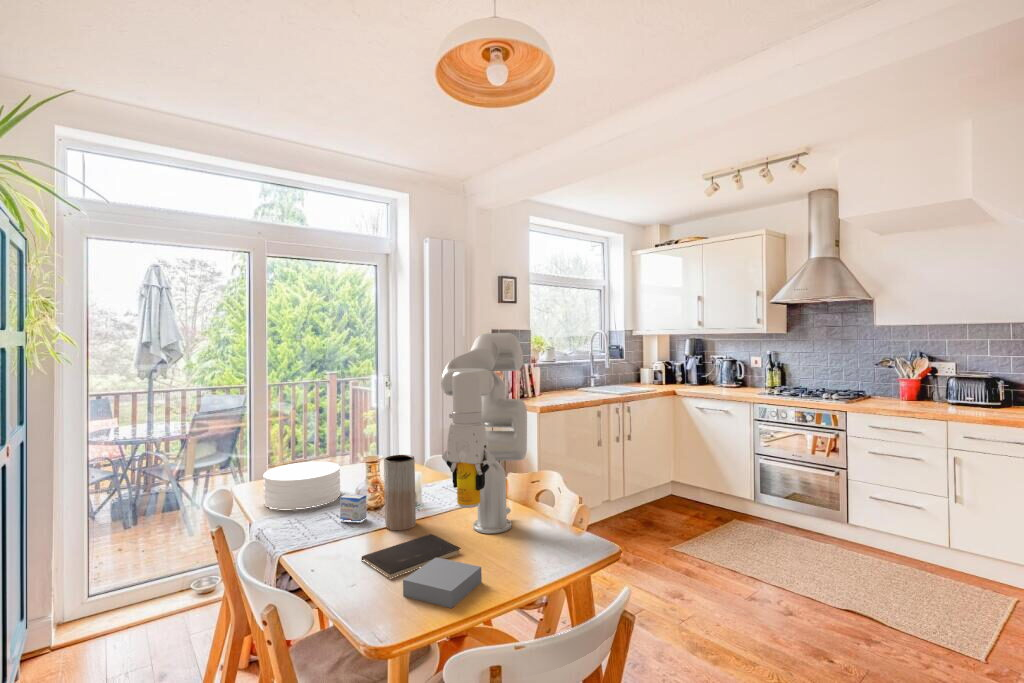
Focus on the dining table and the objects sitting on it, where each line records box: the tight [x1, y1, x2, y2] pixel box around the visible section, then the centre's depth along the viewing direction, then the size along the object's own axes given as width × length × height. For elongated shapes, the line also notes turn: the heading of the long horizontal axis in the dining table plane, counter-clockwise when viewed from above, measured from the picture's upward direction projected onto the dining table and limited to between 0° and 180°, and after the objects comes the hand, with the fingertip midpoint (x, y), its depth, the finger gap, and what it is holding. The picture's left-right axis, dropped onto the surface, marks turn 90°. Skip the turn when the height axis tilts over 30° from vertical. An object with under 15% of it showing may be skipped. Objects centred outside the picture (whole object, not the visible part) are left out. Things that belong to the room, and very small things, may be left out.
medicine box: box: [339, 493, 368, 521], centre depth 181 cm, size 8×4×9 cm, turn 76°
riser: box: [402, 557, 483, 609], centre depth 131 cm, size 14×14×4 cm
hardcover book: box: [361, 533, 462, 579], centre depth 150 cm, size 16×23×2 cm
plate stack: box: [262, 461, 341, 509], centre depth 207 cm, size 28×28×12 cm
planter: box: [383, 454, 417, 531], centre depth 175 cm, size 10×10×23 cm
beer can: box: [456, 451, 481, 509], centre depth 136 cm, size 6×6×15 cm
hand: (468, 487), depth 136 cm, fingers closed on beer can, 6 cm apart
